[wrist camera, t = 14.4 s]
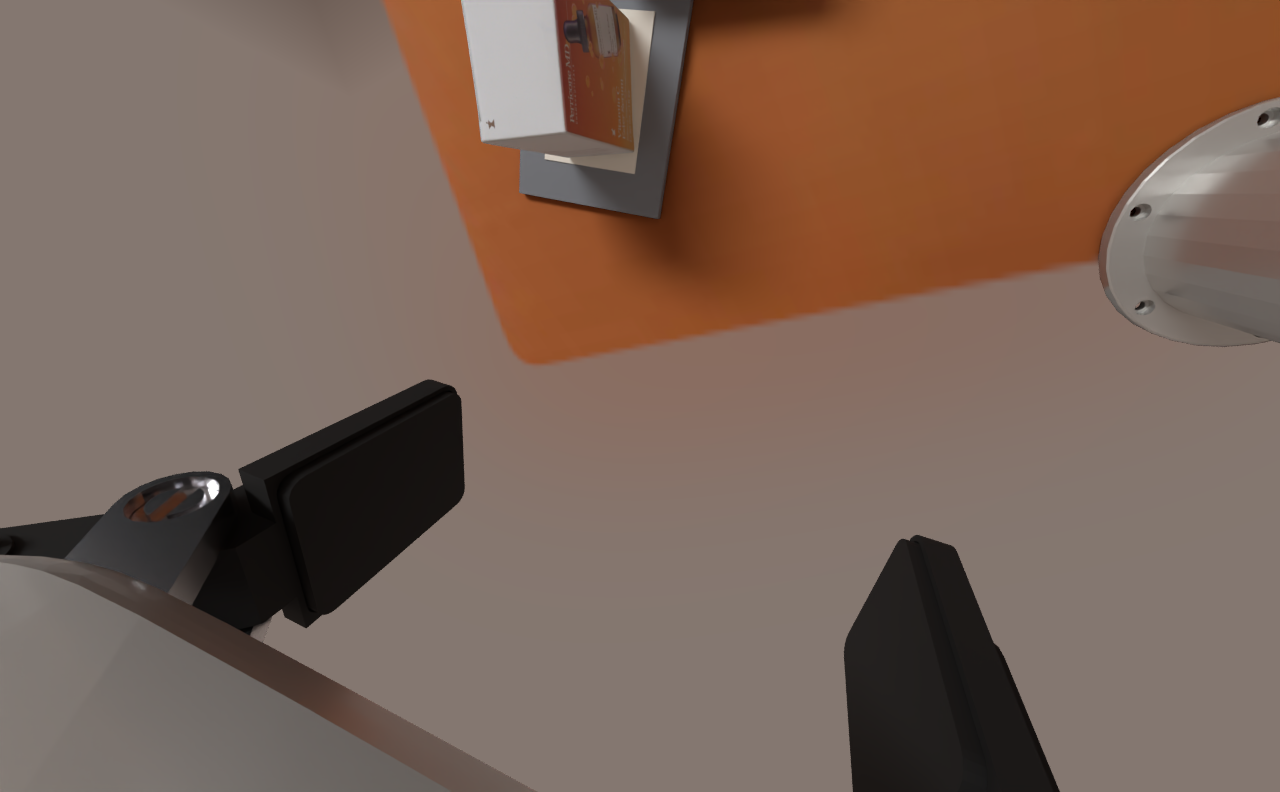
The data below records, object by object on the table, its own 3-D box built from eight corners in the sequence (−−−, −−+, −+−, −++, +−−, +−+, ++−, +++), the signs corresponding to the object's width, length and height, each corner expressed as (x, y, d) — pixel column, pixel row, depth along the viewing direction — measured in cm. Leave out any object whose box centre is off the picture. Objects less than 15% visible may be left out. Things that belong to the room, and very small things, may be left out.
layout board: (699, -39, 28) (696, -44, 27) (659, 218, 35) (657, 218, 34) (529, -47, 31) (523, -51, 30) (523, 192, 37) (518, 192, 37)
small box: (635, 153, 33) (567, 137, 24) (567, 158, 35) (479, 145, 25) (631, 15, 30) (550, -64, 21) (555, 29, 31) (450, -39, 22)
